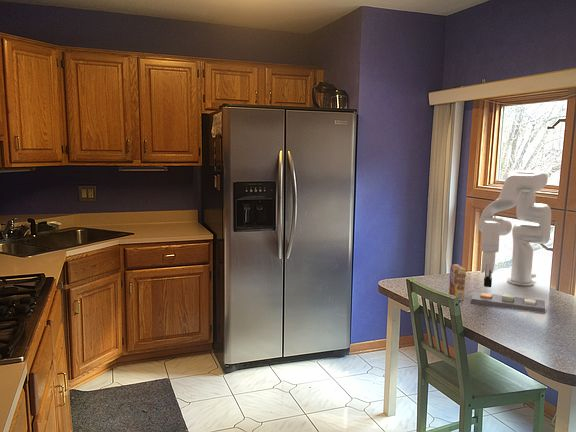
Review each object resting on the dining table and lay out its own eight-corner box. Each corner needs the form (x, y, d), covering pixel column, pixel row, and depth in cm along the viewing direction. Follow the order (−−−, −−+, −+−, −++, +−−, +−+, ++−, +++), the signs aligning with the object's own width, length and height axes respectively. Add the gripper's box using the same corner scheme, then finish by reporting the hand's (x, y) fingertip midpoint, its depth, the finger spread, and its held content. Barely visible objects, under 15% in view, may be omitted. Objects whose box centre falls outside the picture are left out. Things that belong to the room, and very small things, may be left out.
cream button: (524, 303, 216) (524, 298, 216) (535, 304, 214) (535, 299, 214) (524, 305, 212) (524, 301, 212) (535, 307, 210) (535, 302, 210)
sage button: (502, 298, 220) (502, 293, 219) (513, 299, 218) (513, 294, 218) (502, 300, 216) (502, 296, 216) (512, 302, 214) (513, 297, 214)
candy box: (464, 300, 221) (466, 268, 219) (455, 300, 221) (457, 268, 219) (457, 294, 230) (458, 264, 228) (448, 295, 230) (450, 264, 228)
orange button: (481, 297, 224) (481, 292, 224) (491, 298, 222) (491, 294, 222) (480, 300, 220) (480, 295, 220) (491, 301, 218) (491, 296, 218)
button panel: (473, 295, 229) (473, 291, 229) (544, 304, 216) (544, 300, 216) (470, 302, 218) (471, 298, 218) (545, 313, 205) (545, 308, 205)
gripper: (482, 243, 226) (480, 281, 229) (479, 250, 213) (477, 290, 216) (499, 245, 223) (497, 282, 226) (497, 252, 209) (495, 292, 212)
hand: (487, 286), depth 221 cm, fingers closed
